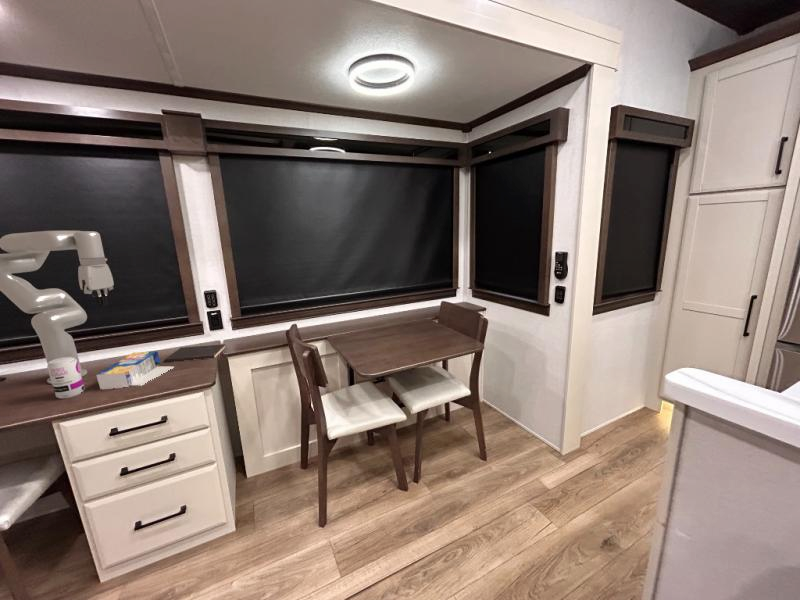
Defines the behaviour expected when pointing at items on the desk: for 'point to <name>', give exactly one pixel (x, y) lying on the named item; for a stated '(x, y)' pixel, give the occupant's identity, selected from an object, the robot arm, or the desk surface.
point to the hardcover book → (195, 353)
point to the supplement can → (65, 377)
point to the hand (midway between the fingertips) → (102, 305)
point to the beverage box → (128, 370)
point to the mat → (151, 375)
